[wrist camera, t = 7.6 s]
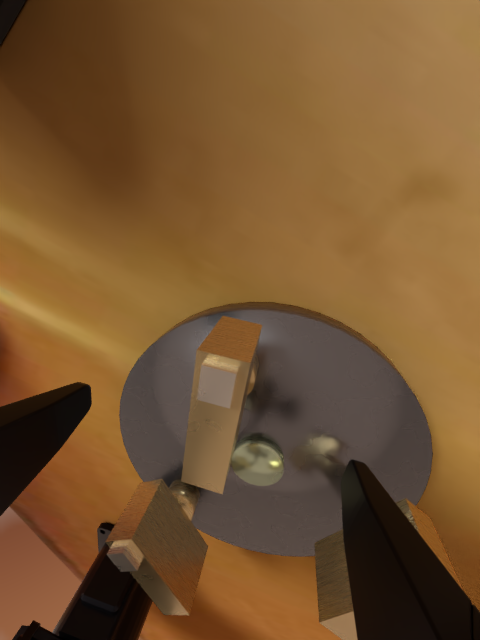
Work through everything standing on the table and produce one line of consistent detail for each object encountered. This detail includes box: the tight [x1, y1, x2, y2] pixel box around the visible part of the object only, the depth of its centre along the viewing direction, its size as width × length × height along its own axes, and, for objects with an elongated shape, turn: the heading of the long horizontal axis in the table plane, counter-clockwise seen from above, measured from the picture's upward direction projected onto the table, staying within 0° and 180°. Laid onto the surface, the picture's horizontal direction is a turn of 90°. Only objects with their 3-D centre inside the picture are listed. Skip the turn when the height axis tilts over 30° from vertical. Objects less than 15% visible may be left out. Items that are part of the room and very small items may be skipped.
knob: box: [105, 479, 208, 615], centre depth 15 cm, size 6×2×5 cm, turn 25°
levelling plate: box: [119, 302, 433, 557], centre depth 15 cm, size 17×17×2 cm
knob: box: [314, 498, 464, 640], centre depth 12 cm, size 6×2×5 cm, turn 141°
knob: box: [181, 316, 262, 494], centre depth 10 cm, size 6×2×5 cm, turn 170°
